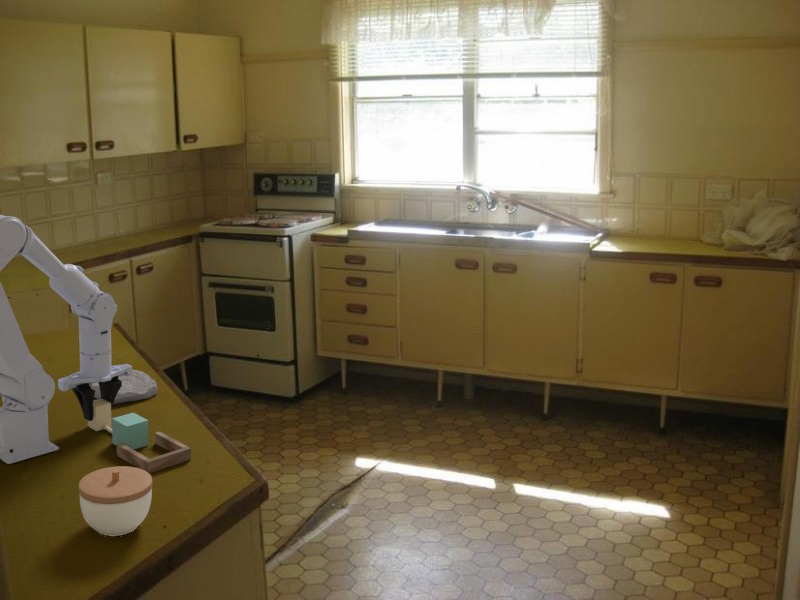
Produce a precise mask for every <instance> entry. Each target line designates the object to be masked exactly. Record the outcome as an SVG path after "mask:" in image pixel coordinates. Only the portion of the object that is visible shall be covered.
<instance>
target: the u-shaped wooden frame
mask: <svg viewBox="0 0 800 600" xmlns="http://www.w3.org/2000/svg"><path fill="white" fill-rule="evenodd" d="M154 444H155V445H156V446H159V447H161V448H162V449H164V450H166V451H168V452H166V453H164V454H160V455H158V456H154V457H151V458H149V457H147V456H146V455H143V454H142V453H140V452H138V451H136V449H134V450H133V449H131V448H130V447H128V446H126V445H124V444H123V443H120V444H117V446H116V456H117V457H118V458H120V459H122V460H124V461H125V462H127V463H129V464H130V465H132V466H133V467H135V468H139V469H142V470H145V471H146V472H148V473H149V474H152V473H156V472H158V471H160V470H161V471H162V470H164V469H166V468H170V467H172V466H175V465H178V464H182V463H185V462H188V461H190V460H192V448H191V447H190V446H188V445H186V444H184V443H182V442H180V441H178V440H177V439H174V438H173V437H171V436H169V435H167V434H165V433H163V432H161V431H156V432H155V433H154Z"/></svg>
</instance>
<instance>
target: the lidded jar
mask: <svg viewBox="0 0 800 600" xmlns="http://www.w3.org/2000/svg"><path fill="white" fill-rule="evenodd" d="M153 483H154V482H153V476H152V475H151V473H148V472H146V471H145V470H142V469H139V468H137V467H135V466H124V465H122V466H119V465H118V466H109V467H105V468H104V467H103V468H100V469H96V470H95V471H91V472H90V473H87V474H86V475H84V476H83V477H82V478H81V479H80V481H79V483H78V494H79V506H80V510H81V513H82V516H83V518H84V521H85V522H86V523H87V524H88V525H89V527H91V528H92V529H93V530H94V531H95V532H97V531H98V532H99V533H101V534H104V535H109V536H117V535H118V536H119V535H123V534H127V533H129V532H132V531H133V532H134V530H135V529H136V530H137V528H138V526H140V525H141V524H142V523H143V521H144V520H146V519H145V518H146V517H147V515H148V513H149V511H150V508H151V504H152V498H153V497H152V495H153V494H152V492H153V489H152V488H153V485H154V484H153ZM136 530H135V531H136ZM133 532H132V533H133Z"/></svg>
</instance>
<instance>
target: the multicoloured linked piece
mask: <svg viewBox="0 0 800 600" xmlns="http://www.w3.org/2000/svg"><path fill="white" fill-rule="evenodd" d="M88 426H89V428H90V429H92V430H94V431H95V432H98V431H102V430H106V431H107V432H109V433H111V435H112V438H111V439H112V444H113V445H114V446H116V447H117V444H120V443H123V444H124V445H126V446H128V447H130V448H131V449H133V450H137V449H138V450H139V449H141V448H144V447H147V446H149V440H150V439H149V420H148V419H146V418H145V417H142V416H140V415H139V414H138V413H135V412H130V413H127V414H123V415H119V416H116V417H112V411H111V403H110V402H108V401H106V400H104V399H94V400H93V420H92V421H88V420H87V427H88Z"/></svg>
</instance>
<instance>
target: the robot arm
mask: <svg viewBox="0 0 800 600" xmlns="http://www.w3.org/2000/svg"><path fill="white" fill-rule="evenodd" d="M17 254H20V255H21V256H22V257H23V258H25V259H26V260H28V262H30V263H31V264H33V265H34V267H36V268H38V270H40V271H41V272H43V273H44V275H45V276H47V277H48V278H49V281H48V283H49V287H50V288H51V290H53V291H54V292H55V293H56V294H57V295H59V296H60V297H61V299H63V300H64V301H65V302H67V303H68V304H69V305H70V310H71V312H72V313H73V314H74V315H77V316H78V335H79V336H78V341H79V342H78V343H79V370H80V371H77V372H75V373H72V374H70V375H68V376H65V377H61V378H58V380H57V384H58V385H57V387H58V388H57V389H58V390H60V391H62V392H67V391H69V390H71V391H72V392H73V394H74V395H75V397H76V399H77V400H78V403H79V406H80V408H81V410H82V414H83V418H84V419H85V420H86V421H87V422H88V421H92V420H93V401H94V400H95V398H94V395H95V390H93V389H91V386H92V383H96V382H98V383H99V387H100V393H101V399H104V400H106V401H108V402H110V403H111V412H112V410H113V406H114V404H113V403H114V400H115V397H116V395H117V393H118V391H119V390H120V388H121V386H122V381H121V380H119V379H118V377H121V376H125V375H126V376H131V375H132V370H133V365H131V364H128V363H124V364H117V365H112V332H111V331H112V327H113V319H114V317H115V316H116V313H117V310H118V304H117V303H115V300H114V298H113V296H112V295H111V294H110V293H108V292H106V291H101V290H100V289H99V287H100V285H99V284H98V282H96V281H92V280H91V279H90V278H88V277H87V276H86V274H85V273H83V272H84V271H85V269H84V268H83V267H82V266H80V265H76V264H75V265H74V264H72V263H66V264H64V263H63V262H62V261H61V260H60V259H59V258H58V257H57V256H56V255H55V254H54V253H53V252H52V251H51V250H50V249H49V248H48V247H47V246H46V245H45V244H44V242H43V241H42V240H40V238H39V237H38V236H37V235H36V234H35V233H34V231H33V229H32V228H31V227H29V226H27V225H25V224H24V223H23V221H22V220H21V219H19V218H18V217H15V216H10V215H9V216H7V215H3V214H0V272H1V271H2V270H4V268H5V267H6V266H7V264H8V263H10V262H11V260H13V259H14V257H15V256H17ZM55 389H56V384H55V381H54V379H53V377H52V376H51V375H50V374H49V373H46V371H45V369H44V367H43V365H42V363H40V361H39V360H37V359H36V358H35V356H33V354H32V353H31V352H30V350H29V348H28V345H27V343H26V341H25V337H24V336H23V334H22V331H21V329H20V326H19V324H18V321H17V318H16V316H15V314H14V311H13V309H12V307H11V304H10V301H9V299H8V296H7V294H6V292H5V289H4V287H3V284H2V282H1V281H0V396H1V400H2V403H3V405H1V406H0V460H1V461H2V462H4V463H5V464H7V465H9V464H10V465H11V464H14V463H17V462H21V461H24V460H29V459H31V458H35V457H39V456H42V455H45V454H49V453H51V452H56V451H59V449H60V447H59V446H58V445H56V444H55V443H53V442H51V441H50V440H49V439H50V437H49V416H48V415H49V413H48V406H49V403H50V401H51V400H52V399H53V396H54V395H55V391H56V390H55Z"/></svg>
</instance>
